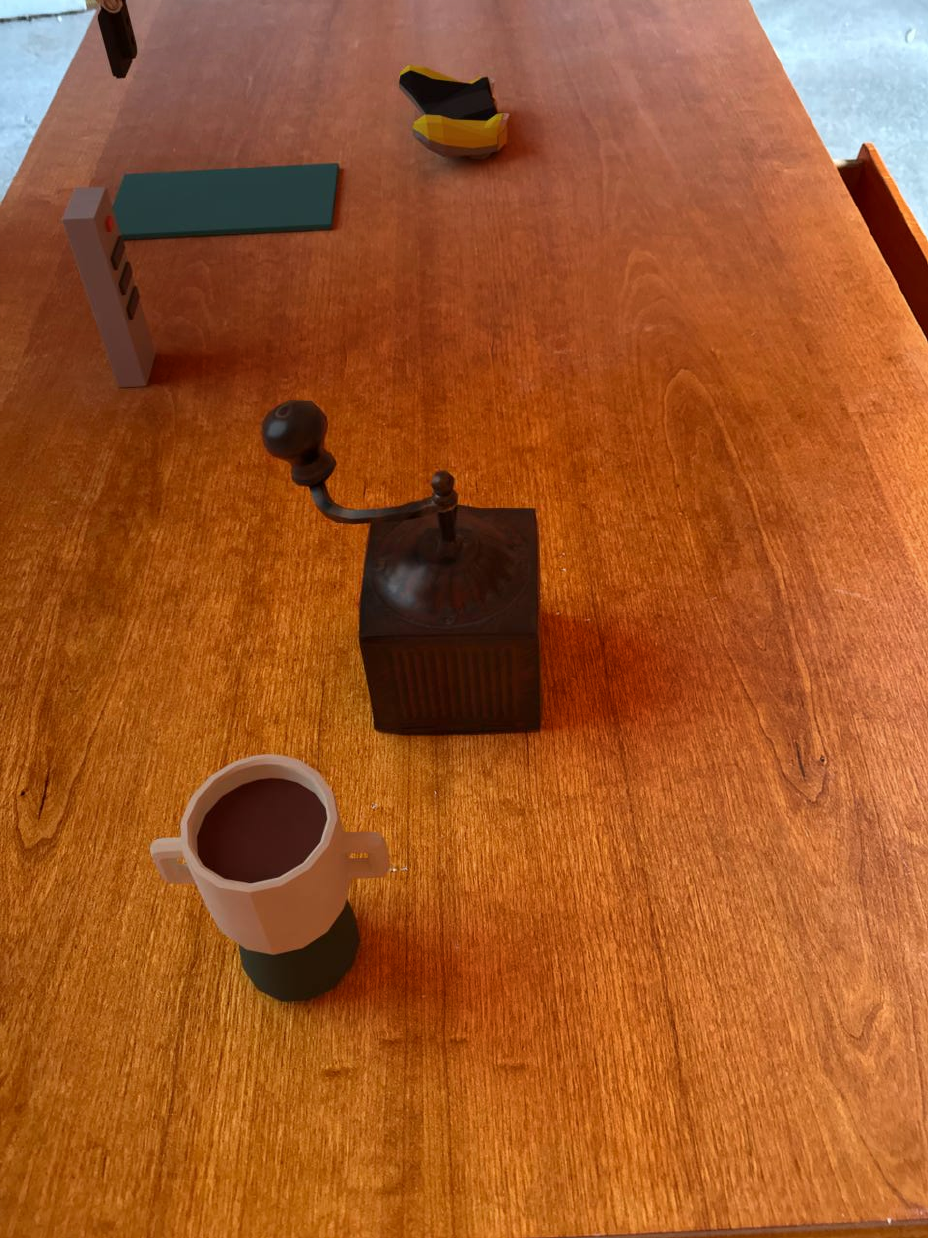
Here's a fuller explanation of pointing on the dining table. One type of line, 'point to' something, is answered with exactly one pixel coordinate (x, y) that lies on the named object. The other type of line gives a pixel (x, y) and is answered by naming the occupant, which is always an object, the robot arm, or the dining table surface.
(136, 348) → the remote
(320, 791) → the character mug
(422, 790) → the dining table surface
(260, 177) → the felt mat
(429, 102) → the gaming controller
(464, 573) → the manual coffee grinder
